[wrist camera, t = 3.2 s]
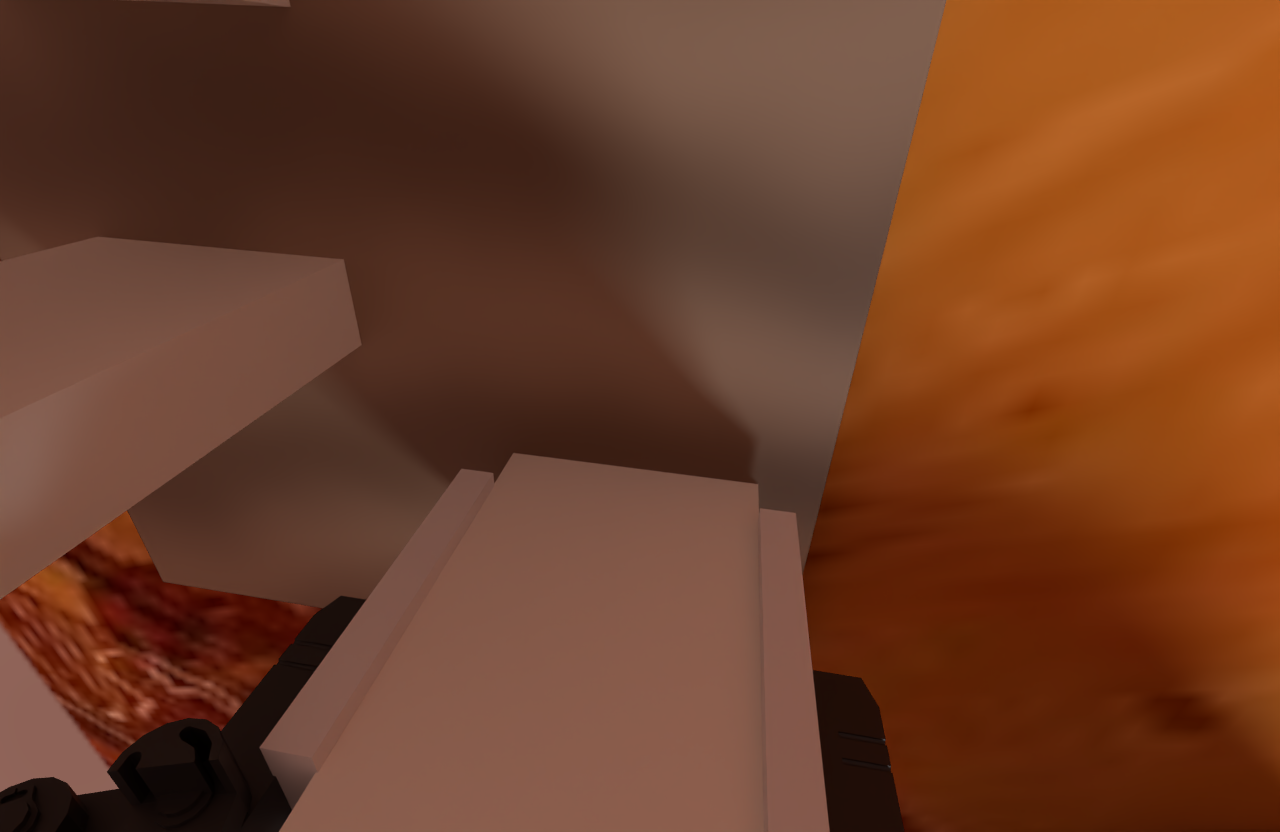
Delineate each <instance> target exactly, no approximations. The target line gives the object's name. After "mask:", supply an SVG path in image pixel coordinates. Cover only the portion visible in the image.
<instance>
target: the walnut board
mask: <svg viewBox="0 0 1280 832" xmlns="http://www.w3.org/2000/svg"><path fill="white" fill-rule="evenodd" d="M289 1H290V6H291V7H277V6H253V5H228V4H204V3H180V2H156V1H132V0H0V259H1V261H4V260H8V259H11V258H15V257H19V256H23V255H27V254H31V253H35V252H39V251H43V250H47V249H51V248H55V247H59V246H63V245H67V244H71V243H75V242H79V241H83V240H87V239H91V238H95V237H107V238H118V239H129V240H140V241H150V242H161V243H172V244H183V245H194V246H204V247H215V248H226V249H237V250H248V251H258V252H269V253H280V254H291V255H301V256H312V257H323V258H334V259H344V263H345V268H346V273H347V277H348V282H349V287H350V292H351V296H352V301H353V306H354V311H355V316H356V320H357V325H358V330H359V335H360V339H361V344H362V345H361V346H359V347H358V348H357V349H355V350H354V351H352V352H351V353H349V354H348V355H347V356H345V357H344V358H342V359H341V360H340V361H338V362H337V363H335V364H334V365H332V366H331V367H330V368H328V369H327V370H325V371H324V372H323V373H321V374H320V375H318V376H317V377H315V378H314V379H313V380H311V381H310V382H308V383H307V384H305V385H304V386H303V387H301V388H300V389H298V390H297V391H296V392H294V393H293V394H291V395H290V396H288V397H287V398H286V399H284V400H283V401H281V402H280V403H279V404H277V405H276V406H274V407H273V408H271V409H270V410H269V411H267V412H266V413H264V414H263V415H261V416H260V417H259V418H257V419H256V420H254V421H253V422H252V423H250V424H249V425H247V426H246V427H244V428H243V429H242V430H240V431H239V432H237V433H236V434H234V435H233V436H232V437H230V438H229V439H227V440H226V441H225V442H223V443H222V444H220V445H219V446H217V447H216V448H215V449H213V450H212V451H210V452H209V453H208V454H206V455H205V456H203V457H202V458H200V459H199V460H198V461H196V462H195V463H193V464H192V465H190V466H189V467H188V468H186V469H185V470H183V471H182V472H181V473H179V474H178V475H176V476H175V477H173V478H172V479H171V480H169V481H168V482H166V483H165V484H164V485H162V486H161V487H159V488H158V489H156V490H155V491H154V492H152V493H151V494H149V495H148V496H146V497H145V498H144V499H142V500H141V501H139V502H138V503H137V504H135V505H134V506H132V507H131V508H129V509H128V510H127V511H128V513H129V515H130V517H131V519H132V521H133V523H134V525H135V527H136V529H137V531H138V533H139V535H140V537H141V539H142V541H143V543H144V545H145V547H146V549H147V551H148V553H149V555H150V557H151V559H152V561H153V563H154V565H155V566H156V568H157V570H158V572H159V574H160V576H161V578H162V580H163V582H167V583H173V584H179V585H185V586H191V587H198V588H204V589H210V590H216V591H222V592H228V593H234V594H240V595H246V596H252V597H258V598H264V599H270V600H276V601H282V602H288V603H295V604H301V605H307V606H313V607H319V608H324V607H326V606H327V605H329V604H330V603H331V602H333V601H334V600H336V599H337V598H338V597H340V596H347V597H353V598H359V599H366V600H367V598H368V597H369V596H370V594H371V593H372V592H373V590H374V589H375V587H376V586H377V585H378V583H379V582H380V580H381V579H382V578H383V576H384V575H385V574H386V572H387V571H388V569H389V568H390V567H391V565H392V564H393V563H394V561H395V560H396V558H397V557H398V556H399V554H400V553H401V551H402V550H403V549H404V547H405V546H406V545H407V543H408V542H409V540H410V539H411V538H412V536H413V535H414V533H415V532H416V531H417V529H418V528H419V527H420V525H421V524H422V522H423V521H424V520H425V518H426V517H427V516H428V514H429V513H430V511H431V510H432V509H433V507H434V506H435V504H436V503H437V502H438V500H439V499H440V498H441V496H442V495H443V493H444V492H445V491H446V489H447V488H448V487H449V485H450V484H451V482H452V481H453V480H454V478H455V477H456V475H457V474H458V473H459V471H460V470H461V469H467V470H475V471H483V472H490V473H493V476H494V483H495V482H496V480H497V479H498V477H499V475H500V474H501V472H502V470H503V469H504V467H505V466H506V464H507V462H508V461H509V459H510V458H511V456H512V454H513V453H518V454H526V455H534V456H542V457H550V458H558V459H565V460H573V461H581V462H589V463H597V464H604V465H612V466H620V467H628V468H636V469H644V470H651V471H659V472H667V473H675V474H683V475H690V476H698V477H706V478H714V479H722V480H730V481H737V482H745V483H753V484H758V496H759V512H760V508H762V509H770V510H777V511H785V512H792V513H796V519H797V529H798V538H799V548H800V557H801V567H802V575H803V571H804V567H805V563H806V559H807V555H808V551H809V547H810V543H811V539H812V535H813V531H814V527H815V523H816V519H817V515H818V511H819V507H820V503H821V499H822V495H823V491H824V487H825V483H826V479H827V475H828V471H829V467H830V463H831V459H832V455H833V451H834V447H835V443H836V439H837V435H838V431H839V427H840V423H841V419H842V415H843V411H844V407H845V403H846V399H847V395H848V391H849V387H850V383H851V379H852V375H853V371H854V367H855V363H856V359H857V355H858V351H859V347H860V343H861V339H862V335H863V331H864V327H865V323H866V319H867V315H868V311H869V307H870V303H871V299H872V295H873V291H874V287H875V283H876V279H877V275H878V271H879V267H880V263H881V259H882V255H883V251H884V247H885V243H886V239H887V235H888V231H889V227H890V223H891V219H892V215H893V211H894V207H895V203H896V199H897V195H898V191H899V187H900V183H901V179H902V175H903V171H904V167H905V163H906V159H907V155H908V151H909V147H910V143H911V139H912V135H913V131H914V127H915V123H916V119H917V115H918V111H919V107H920V103H921V99H922V95H923V91H924V87H925V83H926V79H927V75H928V71H929V67H930V63H931V59H932V55H933V51H934V47H935V43H936V39H937V35H938V31H939V27H940V23H941V19H942V15H943V11H944V7H945V3H946V0H289Z"/></svg>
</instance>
